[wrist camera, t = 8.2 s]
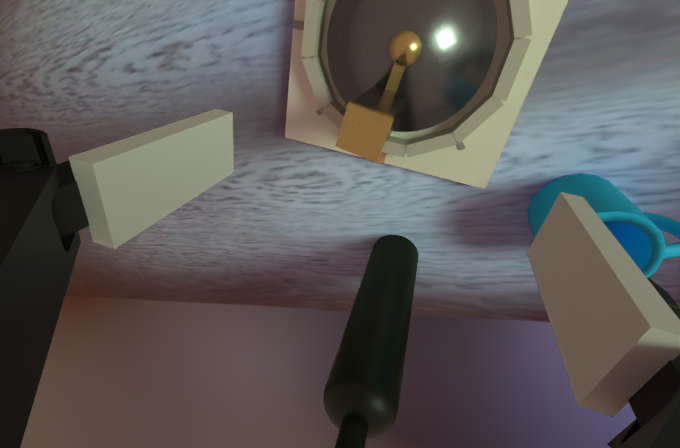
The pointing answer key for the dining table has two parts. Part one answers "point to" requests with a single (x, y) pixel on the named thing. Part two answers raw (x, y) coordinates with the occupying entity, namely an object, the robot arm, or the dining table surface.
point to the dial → (406, 64)
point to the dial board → (447, 137)
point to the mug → (612, 218)
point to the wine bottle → (373, 346)
